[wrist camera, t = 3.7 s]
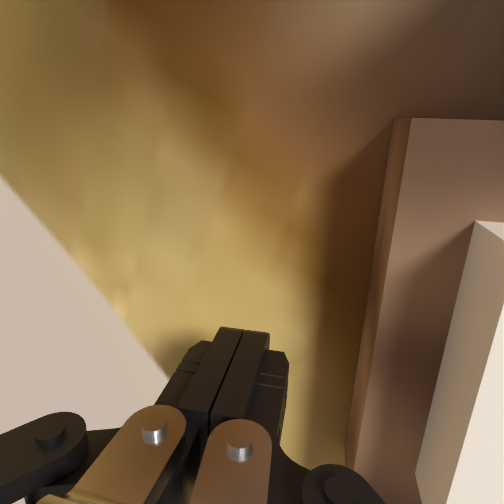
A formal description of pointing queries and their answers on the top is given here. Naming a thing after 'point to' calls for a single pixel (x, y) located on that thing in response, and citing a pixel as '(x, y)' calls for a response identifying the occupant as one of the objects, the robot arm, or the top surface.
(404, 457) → the brown wooden board
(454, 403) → the tile
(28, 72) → the top surface
